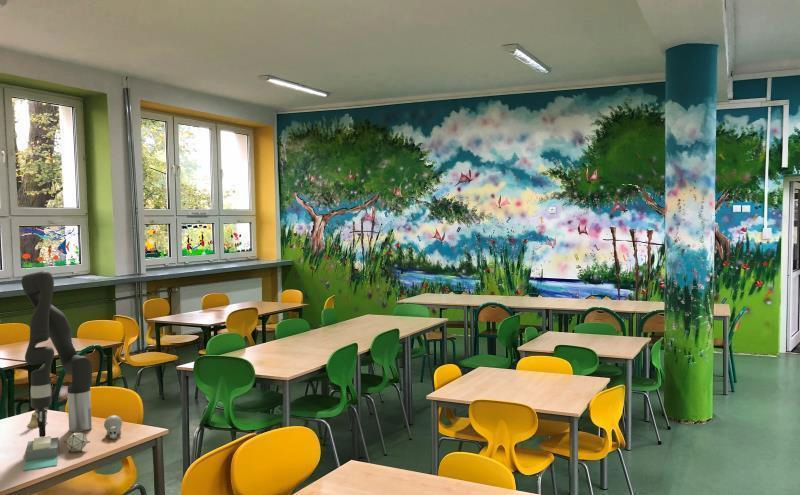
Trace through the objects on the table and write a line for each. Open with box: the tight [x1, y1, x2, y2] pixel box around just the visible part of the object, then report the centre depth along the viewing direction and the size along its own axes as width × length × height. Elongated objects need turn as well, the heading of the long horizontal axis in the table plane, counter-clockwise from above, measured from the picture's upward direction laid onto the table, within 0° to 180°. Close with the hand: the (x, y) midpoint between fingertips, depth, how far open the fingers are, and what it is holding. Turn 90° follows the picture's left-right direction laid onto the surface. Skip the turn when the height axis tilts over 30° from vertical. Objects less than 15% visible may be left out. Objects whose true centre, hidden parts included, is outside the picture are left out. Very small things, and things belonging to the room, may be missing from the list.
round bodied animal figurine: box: [103, 414, 123, 441], centre depth 284 cm, size 7×12×8 cm, turn 20°
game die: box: [63, 430, 91, 454], centre depth 266 cm, size 9×8×10 cm
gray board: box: [24, 436, 60, 462], centre depth 264 cm, size 11×14×4 cm
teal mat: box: [23, 457, 58, 472], centre depth 253 cm, size 11×10×1 cm
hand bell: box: [27, 408, 49, 428], centre depth 303 cm, size 8×8×16 cm
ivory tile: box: [33, 435, 52, 450], centre depth 263 cm, size 6×9×2 cm, turn 26°
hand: (42, 436), depth 272 cm, fingers closed
